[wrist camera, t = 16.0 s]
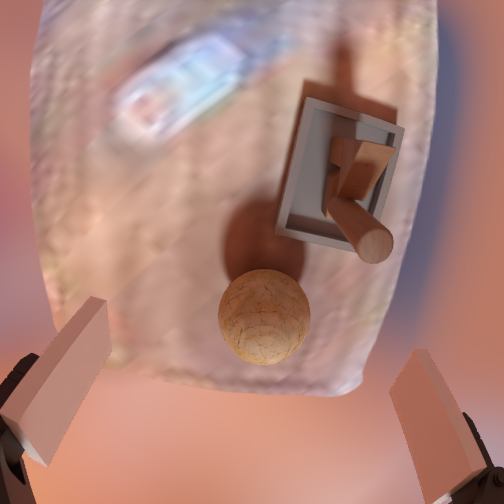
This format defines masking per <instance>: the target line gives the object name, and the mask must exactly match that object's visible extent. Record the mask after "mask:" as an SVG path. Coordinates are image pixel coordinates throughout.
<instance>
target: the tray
mask: <svg viewBox="0 0 504 504" xmlns="http://www.w3.org/2000/svg"><path fill="white" fill-rule="evenodd" d="M404 130H405V128H402V127H400V126H397V125H394V124H392V123H389V122H386V121H384V120H381V119H378V118H375V117H373V116H370V115H367V114H364V113H361V112H358V111H355V110H352V109H348V108H345V107H342V106H339V105H335V104H332V103H328V102H325V101H321V100H318V99H314V98H310V97H306V98H305V99H304V102H303V107H302V111H301V115H300V120H299V124H298V128H297V133H296V137H295V141H294V146H293V150H292V154H291V159H290V163H289V167H288V171H287V175H286V180H285V184H284V188H283V192H282V196H281V201H280V205H279V209H278V213H277V217H276V221H275V225H274V235H279V236H284V237H288V238H293V239H297V240H302V241H306V242H311V243H315V244H320V245H324V246H329V247H333V248H337V249H342V250H346V251H351V252H355V253H356V251H355V250H354V248H353V247H352V245H351V244H350V242H349V241H348V239H347V238H346V237H345V235H344V234H343V232H342V231H341V229H340V228H339V227H338V225H337V224H336V222H335V221H334V220H333V219H327V218H325V216H324V215H323V213H322V211H321V209H322V203H323V196H324V190H325V183H326V176H327V174H328V173H330V172H331V171H332V170H334V169H335V168H336V167H338V166H337V165H335V164H333V163H331V162H330V161H329V154H330V146H331V139H332V137H342V138H349V139H358V140H365V141H370V142H375V143H379V144H384V145H388V146H393V147H396V151H395V152H394V154H393V156H392V157H391V159H390V161H389V162H388V164H387V166H386V167H385V169H384V170H383V172H382V174H381V175H380V177H379V179H378V180H377V182H376V183H375V185H374V187H373V188H372V190H371V191H370V193H369V195H368V196H367V198H366V199H365V201H359V200H355V201H356V202H357V203H358V204H359V205H361V206H362V207H363V208H364V209H365V210H366V211H368V212H369V213H370V214H371V215H372V216H373V217H375V218H376V219H377V220H378V221H380V218H381V215H382V211H383V208H384V205H385V202H386V198H387V195H388V191H389V188H390V184H391V181H392V177H393V174H394V170H395V166H396V163H397V159H398V155H399V151H400V147H401V143H402V139H403V134H404Z"/></svg>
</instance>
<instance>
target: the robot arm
mask: <svg viewBox="0 0 504 504" xmlns="http://www.w3.org/2000/svg"><path fill="white" fill-rule="evenodd" d="M111 352H112V346H111V338H110V330H109V320H108V310H107V300H103V299H99V298H95V297H92V296H91V297H90V298H89V299H88V300H87V301H86V302H85V303H84V305H83V306H82V307H81V308H80V309H79V310H78V311H77V313H76V314H75V315H74V316H73V317H72V318H71V319H70V321H69V322H68V323H67V324H66V325H65V326H64V328H63V329H62V330H61V331H60V332H59V334H58V335H57V336H56V337H55V338H54V340H53V341H52V342H51V343H50V345H49V346H48V347H47V348H46V349H45V351H44V352H43V353H42V354H41V356H38V355H36V354H34V353H30V354H29V355H27V356H26V357H24V358H23V359H21V360H20V361H19V362H18V363H17V365H16V366H15V367H14V368H13V371H11V372H10V373H9V375H8V376H7V378H5V380H4V381H3V382H2V383H1V385H0V504H36V501H35V498H34V495H33V492H32V489H31V486H30V482H29V479H28V476H27V472H26V468H25V464H24V461H23V459H22V457H21V456H22V454H23V452H24V450H25V452H26V453H27V454H28V455H29V457H30V458H31V459H33V460H35V461H36V462H38V463H40V464H42V465H44V466H46V467H49V465H50V463H51V461H52V459H53V457H54V455H55V453H56V451H57V449H58V447H59V445H60V443H61V441H62V439H63V437H64V435H65V433H66V431H67V429H68V428H69V426H70V424H71V422H72V420H73V418H74V416H75V414H76V413H77V411H78V409H79V407H80V405H81V404H82V402H83V400H84V398H85V396H86V395H87V393H88V391H89V389H90V387H91V386H92V384H93V382H94V381H95V379H96V377H97V375H98V374H99V372H100V370H101V369H102V367H103V365H104V364H105V362H106V360H107V358H108V357H109V355H110V353H111ZM389 393H390V396H391V398H392V401H393V404H394V407H395V409H396V412H397V415H398V418H399V421H400V423H401V426H402V429H403V432H404V435H405V438H406V441H407V444H408V447H409V450H410V453H411V456H412V460H413V463H414V466H415V469H416V472H417V476H418V479H419V483H420V486H421V490H422V493H423V497H424V500H425V504H440V503H442V502H444V501H445V500H446V499H447V498H449V497H451V498H452V501H451V502H450V503H449V504H504V468H503V467H494V465H493V463H492V461H491V458H490V456H489V454H488V452H487V450H486V448H485V445H484V443H483V441H482V439H480V435H479V433H478V432H477V429H476V427H475V425H474V423H473V421H472V420H471V419H470V417H468V415H467V414H466V413H465V412H463V413H462V412H461V410H460V408H459V406H458V404H457V402H456V400H455V399H454V397H453V395H452V393H451V391H450V389H449V387H448V385H447V384H446V382H445V380H444V378H443V376H442V375H441V373H440V371H439V370H438V368H437V366H436V364H435V362H434V361H433V359H432V357H431V355H430V354H429V352H428V350H426V349H414V350H413V352H412V354H411V355H410V357H409V359H408V361H407V362H406V364H405V366H404V368H403V369H402V371H401V373H400V375H399V376H398V378H397V379H396V381H395V383H394V385H393V386H392V387H391V389H390V391H389Z"/></svg>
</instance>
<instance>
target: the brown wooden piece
mask: <svg viewBox="0 0 504 504" xmlns="http://www.w3.org/2000/svg"><path fill="white" fill-rule="evenodd" d="M395 151H396V147H393V146H388V145H384V144H379V143H375V142H370V141H365V140H358V139H349V138H342V137H332V139H331V146H330V154H329V161H330V162H331V163H333V164H335V165H337V166H338V167H336V168H335V169H334V170H332V171H331V172H330V173H328V174H327V176H326V183H325V190H324V196H323V203H322V209H321V211H322V213H323V215H324V216H325V218H327V219H333V220H334V221H335V222H336V224H337V225H338V227H339V228H340V229H341V231H342V232H343V234H344V235H345V237H346V238H347V239H348V241H349V242H350V244H351V245H352V247H353V248H354V250H355V251H356V253H357V254H358V255H359V257H360V258H361V259H362V260H363V261H364V262H366V263H370V264H377V263H380V262H383V261H384V260H385V259H387V258H388V256H389V255H390V254H391V252H392V249H393V243H394V241H393V236H392V234H391V232H390V231H389V230H388V229H387V228H386V227H385V226H384V225H382V224H381V223H380V222H379V221H378V220H377V219H376V218H375V217H373V216H372V215H371V214H370V213H369V212H368V211H366V210H365V209H364V208H363V207H362V206H361V205H359V204H358V203H357V202H356V201H355V200H359V201H365V199H366V198H367V196H368V195H369V193H370V191H371V190H372V188H373V187H374V185H375V183H376V182H377V180H378V179H379V177H380V175H381V174H382V172H383V170H384V169H385V167H386V166H387V164H388V162H389V161H390V159H391V157H392V156H393V154H394V152H395Z"/></svg>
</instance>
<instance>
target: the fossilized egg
mask: <svg viewBox="0 0 504 504" xmlns="http://www.w3.org/2000/svg"><path fill="white" fill-rule="evenodd" d="M218 319H219V327H220V331H221V334H222V336H223V338H224V340H225V342H226V343H227V345H228V346H229V347H230V349H231V350H232V351H233V352H234V353H235V354H236V355H238V356H239V357H240V358H242V359H244V360H246V361H248V362H250V363H254V364H259V365H269V364H274V363H278V362H280V361H282V360H284V359H286V358H288V357H289V356H290V355H292V354H293V353H294V352H295V351H296V350H297V349H298V348H299V347H300V345H301V344H302V342H303V340H304V339H305V337H306V334H307V332H308V329H309V324H310V308H309V303H308V299H307V297H306V295H305V293H304V291H303V290H302V288H301V287H300V286H299V284H298V283H297V282H296V281H295V280H294V279H293V278H291V277H290V276H288V275H286V274H284V273H282V272H279V271H276V270H271V269H258V270H253V271H250V272H247V273H245V274H243V275H241V276H239V277H238V278H236V279H235V280H234V281H233V282H232V283H231V284H230V285H229V287H228V288H227V289H226V291H225V292H224V294H223V296H222V299H221V301H220V306H219V312H218Z"/></svg>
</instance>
